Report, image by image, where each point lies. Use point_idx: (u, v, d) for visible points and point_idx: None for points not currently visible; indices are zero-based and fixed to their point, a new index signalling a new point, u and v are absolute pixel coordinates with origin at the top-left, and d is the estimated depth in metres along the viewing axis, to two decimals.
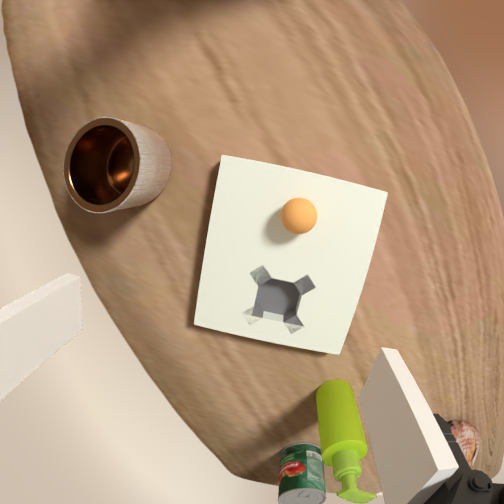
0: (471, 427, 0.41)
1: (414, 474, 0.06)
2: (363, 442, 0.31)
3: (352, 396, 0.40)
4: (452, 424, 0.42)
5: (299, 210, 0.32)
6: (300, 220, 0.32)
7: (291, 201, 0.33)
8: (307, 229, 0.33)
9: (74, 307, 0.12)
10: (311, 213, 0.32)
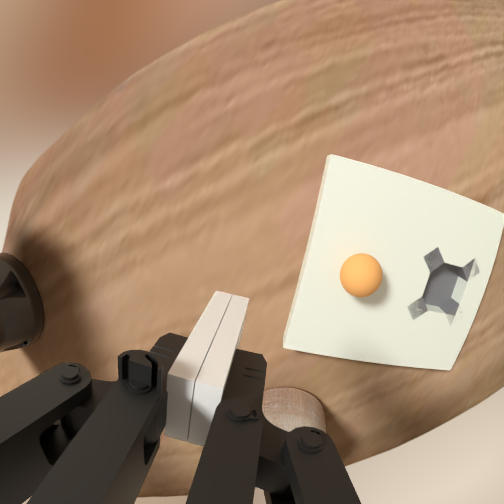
0: None
1: None
2: None
3: None
4: None
5: (357, 282, 0.25)
6: (369, 281, 0.25)
7: (345, 287, 0.27)
8: (379, 269, 0.26)
9: None
10: (361, 266, 0.25)
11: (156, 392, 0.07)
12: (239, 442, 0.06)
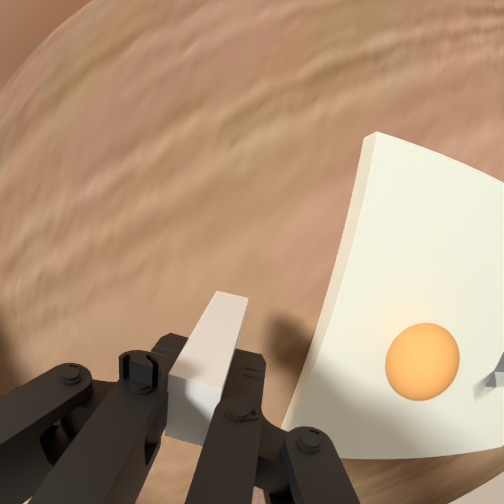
0: None
1: None
2: None
3: None
4: None
5: (421, 385, 0.11)
6: (441, 382, 0.11)
7: (394, 387, 0.13)
8: (458, 356, 0.12)
9: None
10: (431, 357, 0.11)
11: (157, 392, 0.07)
12: (238, 442, 0.06)
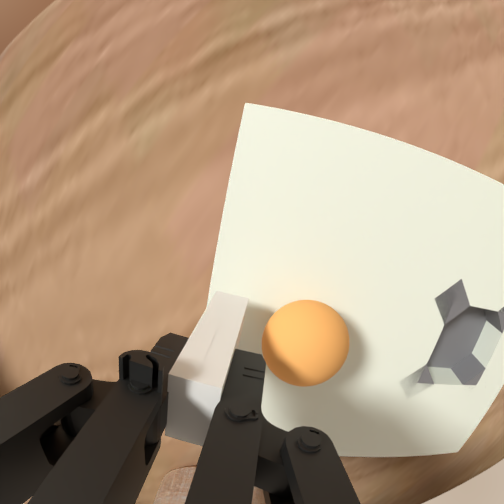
0: None
1: None
2: None
3: None
4: None
5: (289, 366, 0.12)
6: (314, 366, 0.12)
7: None
8: (341, 338, 0.12)
9: None
10: (297, 335, 0.12)
11: (157, 392, 0.07)
12: (238, 442, 0.06)
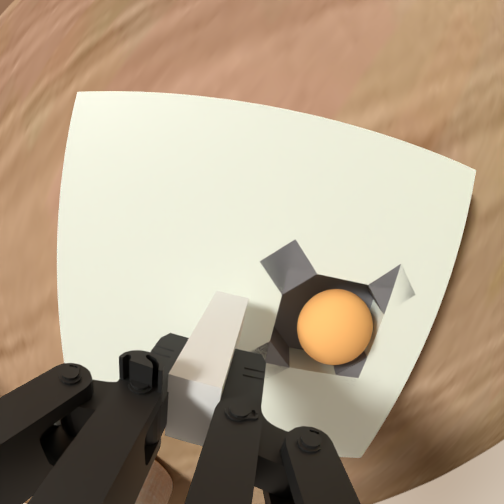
0: None
1: None
2: None
3: None
4: None
5: (313, 340, 0.14)
6: (334, 342, 0.14)
7: (300, 343, 0.16)
8: (361, 322, 0.14)
9: None
10: (323, 314, 0.14)
11: (157, 392, 0.07)
12: (238, 442, 0.06)
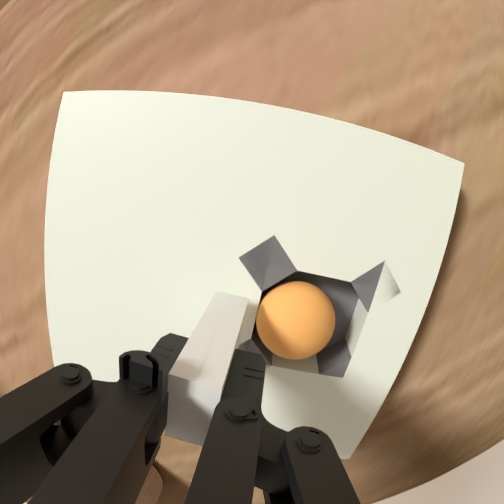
0: None
1: None
2: None
3: None
4: None
5: (257, 321, 0.15)
6: (268, 325, 0.14)
7: None
8: (299, 312, 0.14)
9: None
10: (269, 296, 0.15)
11: (157, 392, 0.07)
12: (238, 442, 0.06)
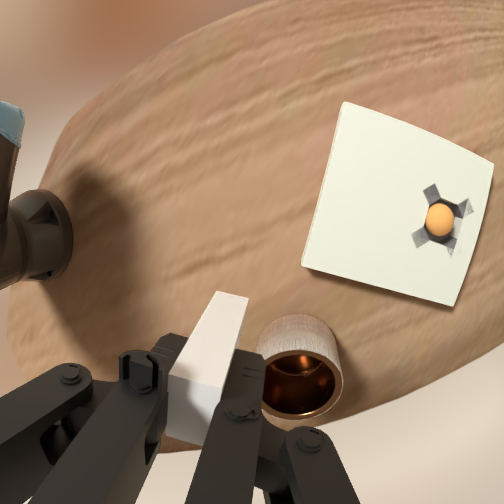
0: None
1: None
2: None
3: None
4: None
5: (429, 217, 0.33)
6: (436, 216, 0.32)
7: (425, 224, 0.34)
8: (446, 211, 0.31)
9: None
10: (433, 207, 0.32)
11: (157, 392, 0.07)
12: (238, 442, 0.06)
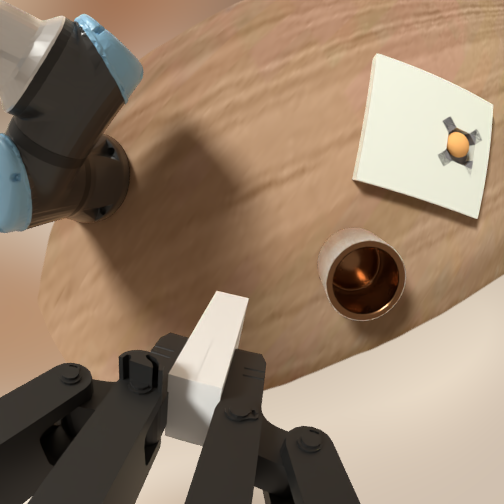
0: None
1: None
2: None
3: None
4: None
5: (450, 141, 0.37)
6: (456, 140, 0.36)
7: (447, 148, 0.38)
8: (463, 136, 0.36)
9: None
10: (451, 134, 0.37)
11: (157, 392, 0.07)
12: (238, 442, 0.06)
